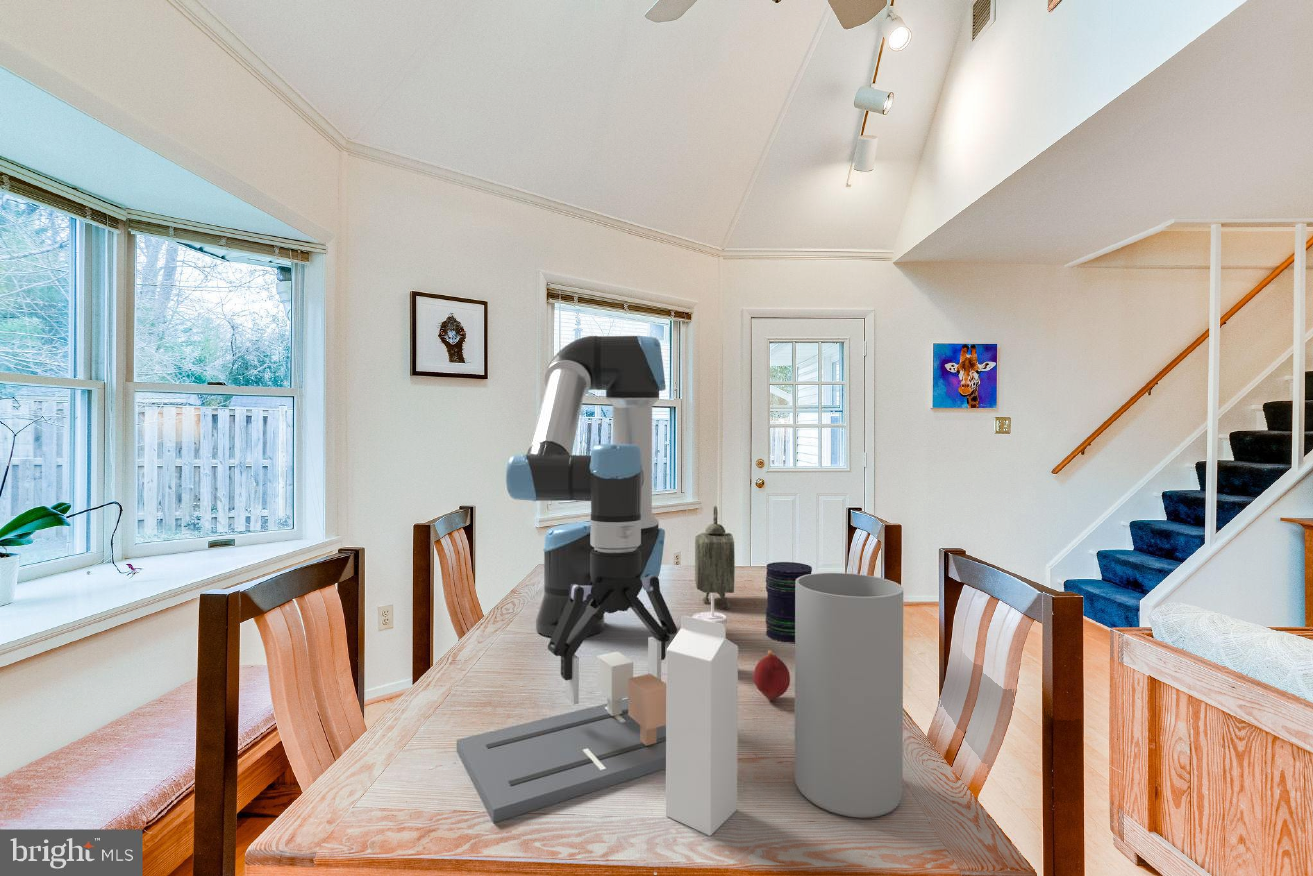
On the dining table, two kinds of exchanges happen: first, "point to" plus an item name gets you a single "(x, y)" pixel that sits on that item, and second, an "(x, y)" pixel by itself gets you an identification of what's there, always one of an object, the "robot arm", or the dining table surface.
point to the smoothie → (711, 614)
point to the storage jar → (782, 598)
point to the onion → (771, 676)
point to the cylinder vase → (849, 692)
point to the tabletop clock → (715, 561)
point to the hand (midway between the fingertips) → (615, 691)
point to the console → (557, 759)
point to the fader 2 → (647, 705)
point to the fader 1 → (614, 679)
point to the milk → (701, 725)
